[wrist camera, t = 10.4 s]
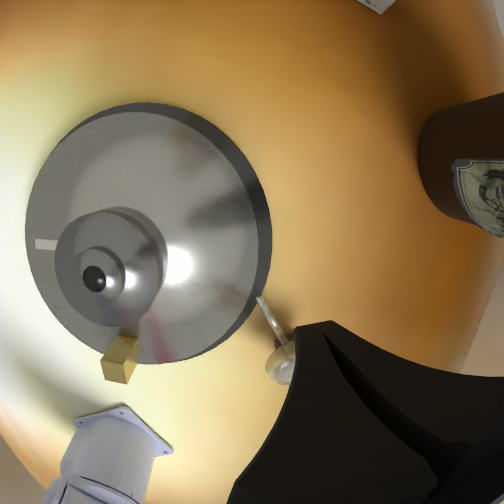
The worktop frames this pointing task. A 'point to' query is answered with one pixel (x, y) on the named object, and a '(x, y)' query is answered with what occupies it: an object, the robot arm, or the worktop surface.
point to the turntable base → (246, 177)
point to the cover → (111, 265)
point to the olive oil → (466, 162)
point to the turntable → (168, 222)
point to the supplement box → (377, 5)
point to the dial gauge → (279, 350)
